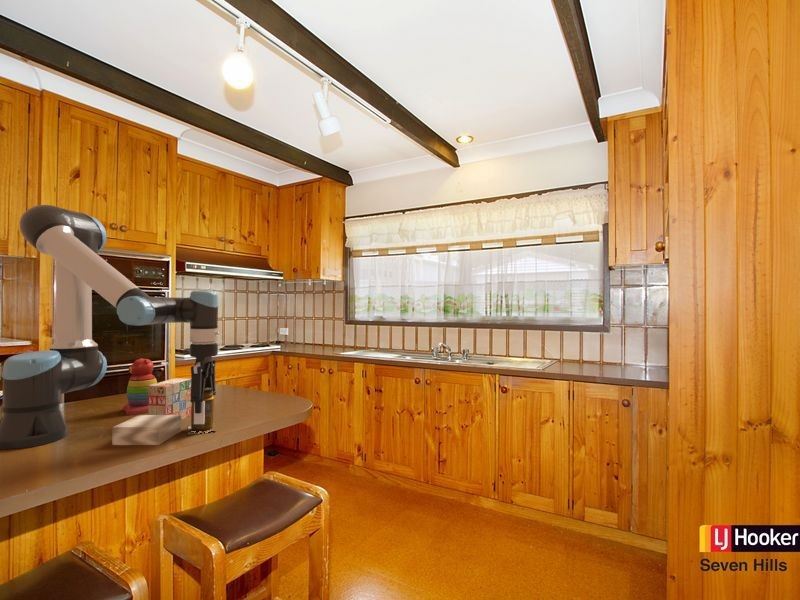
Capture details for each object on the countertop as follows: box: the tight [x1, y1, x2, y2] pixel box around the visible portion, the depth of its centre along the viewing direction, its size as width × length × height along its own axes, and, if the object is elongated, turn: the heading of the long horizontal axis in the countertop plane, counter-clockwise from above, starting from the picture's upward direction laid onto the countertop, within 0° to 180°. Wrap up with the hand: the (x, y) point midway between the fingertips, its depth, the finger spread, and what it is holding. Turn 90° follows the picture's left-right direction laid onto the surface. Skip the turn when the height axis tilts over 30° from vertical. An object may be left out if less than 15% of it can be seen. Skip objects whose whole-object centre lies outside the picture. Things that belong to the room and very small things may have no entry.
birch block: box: [111, 414, 182, 446], centre depth 116 cm, size 12×12×5 cm
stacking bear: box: [122, 357, 158, 416], centre depth 146 cm, size 11×10×18 cm
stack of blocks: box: [147, 377, 192, 420], centre depth 139 cm, size 21×6×12 cm, turn 170°
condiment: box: [187, 387, 215, 435], centre depth 124 cm, size 7×8×12 cm
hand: (203, 420), depth 125 cm, fingers closed on condiment, 6 cm apart
